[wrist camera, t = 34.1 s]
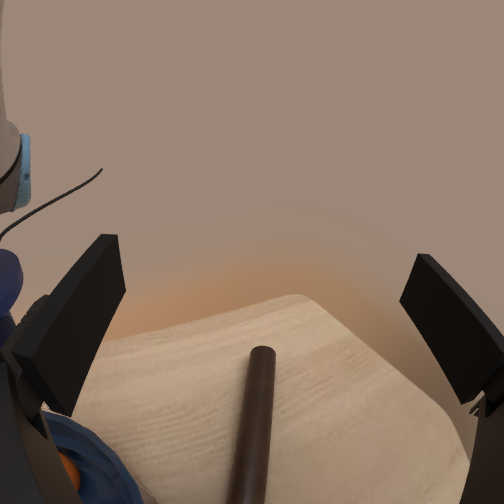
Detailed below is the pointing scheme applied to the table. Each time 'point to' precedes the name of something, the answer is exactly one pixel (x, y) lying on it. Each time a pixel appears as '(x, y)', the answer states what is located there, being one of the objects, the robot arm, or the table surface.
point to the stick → (254, 430)
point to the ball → (71, 470)
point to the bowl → (96, 465)
